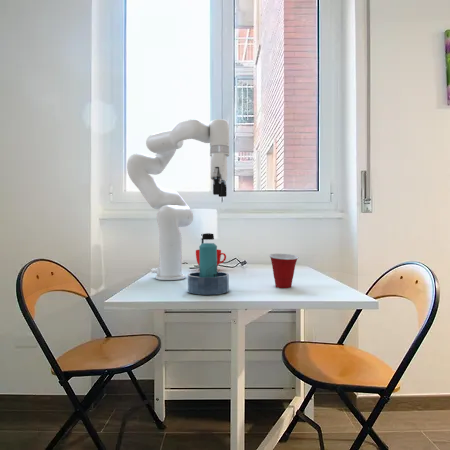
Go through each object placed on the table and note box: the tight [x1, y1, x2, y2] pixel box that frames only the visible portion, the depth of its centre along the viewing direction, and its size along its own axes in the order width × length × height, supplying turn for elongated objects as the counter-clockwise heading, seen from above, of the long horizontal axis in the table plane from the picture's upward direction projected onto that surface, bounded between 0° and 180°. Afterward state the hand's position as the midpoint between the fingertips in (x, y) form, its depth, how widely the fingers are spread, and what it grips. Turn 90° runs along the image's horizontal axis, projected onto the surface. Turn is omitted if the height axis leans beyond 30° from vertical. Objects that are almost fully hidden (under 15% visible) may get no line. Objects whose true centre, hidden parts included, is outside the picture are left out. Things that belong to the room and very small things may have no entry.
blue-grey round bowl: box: [187, 271, 230, 296], centre depth 123 cm, size 14×14×6 cm
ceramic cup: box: [195, 248, 227, 267], centre depth 178 cm, size 13×17×10 cm
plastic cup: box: [268, 253, 299, 289], centre depth 131 cm, size 11×11×12 cm
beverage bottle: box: [198, 232, 218, 277], centre depth 123 cm, size 6×7×20 cm
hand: (220, 195), depth 138 cm, fingers open, 9 cm apart
